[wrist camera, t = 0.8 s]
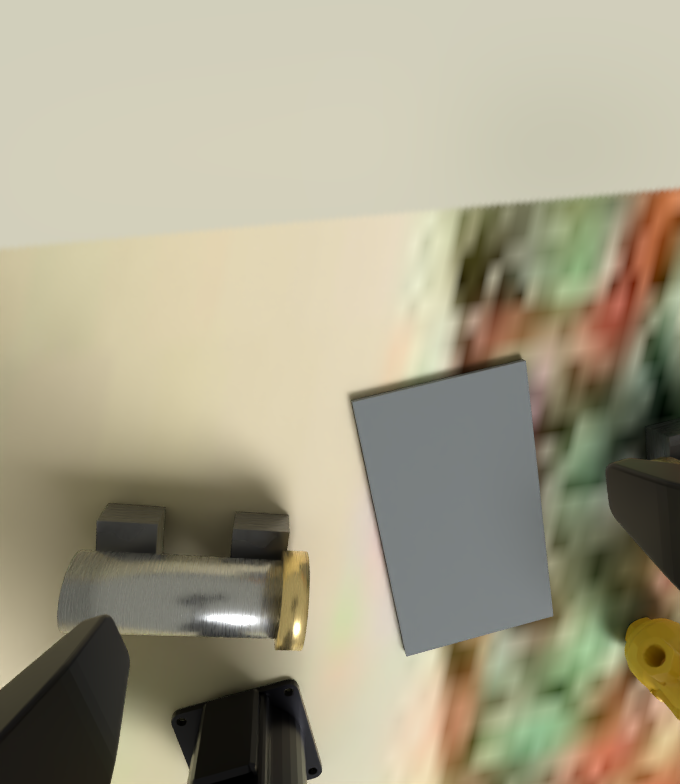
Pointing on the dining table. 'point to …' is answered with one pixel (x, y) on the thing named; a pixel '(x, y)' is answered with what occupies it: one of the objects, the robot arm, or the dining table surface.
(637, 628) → the pressure relief valve
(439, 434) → the seat mat
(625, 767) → the dining table surface
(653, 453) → the shaft
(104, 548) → the shaft
